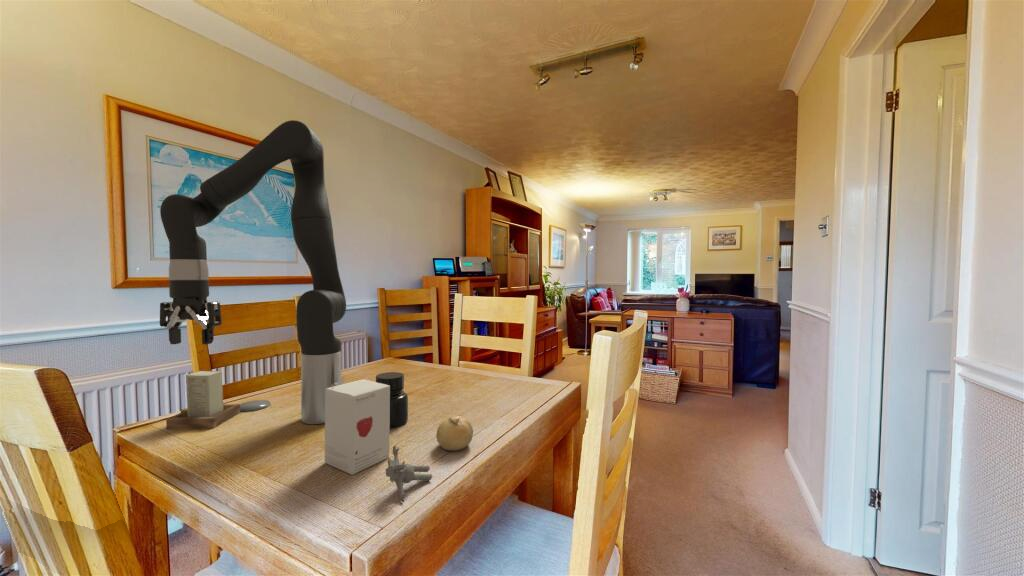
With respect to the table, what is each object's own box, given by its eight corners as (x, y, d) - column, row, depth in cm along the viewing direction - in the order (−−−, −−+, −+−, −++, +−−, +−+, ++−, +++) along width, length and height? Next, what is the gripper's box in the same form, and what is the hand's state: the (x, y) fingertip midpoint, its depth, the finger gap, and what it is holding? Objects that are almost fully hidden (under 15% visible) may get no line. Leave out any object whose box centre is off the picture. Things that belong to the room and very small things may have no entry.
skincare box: (224, 418, 99) (223, 371, 98) (209, 424, 94) (208, 375, 94) (201, 416, 99) (201, 370, 99) (185, 423, 95) (185, 374, 94)
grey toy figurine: (445, 493, 66) (400, 493, 60) (424, 510, 68) (378, 512, 62) (433, 439, 73) (391, 435, 67) (414, 456, 75) (372, 454, 69)
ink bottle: (373, 416, 101) (373, 371, 100) (408, 414, 103) (408, 369, 103) (369, 431, 91) (369, 381, 91) (407, 428, 94) (407, 379, 93)
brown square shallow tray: (240, 412, 102) (240, 401, 102) (213, 428, 92) (213, 415, 92) (197, 413, 101) (197, 402, 101) (166, 429, 91) (165, 416, 91)
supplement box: (351, 476, 71) (352, 396, 70) (323, 463, 76) (323, 388, 75) (391, 457, 79) (391, 384, 78) (362, 446, 83) (363, 378, 83)
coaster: (275, 401, 112) (275, 399, 112) (260, 411, 104) (260, 409, 104) (246, 402, 111) (246, 400, 111) (228, 412, 103) (228, 409, 103)
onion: (428, 447, 84) (428, 414, 83) (456, 436, 90) (456, 405, 89) (452, 458, 78) (452, 424, 78) (480, 446, 84) (480, 414, 84)
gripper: (228, 278, 98) (230, 341, 98) (177, 278, 99) (179, 341, 100) (202, 278, 90) (204, 347, 91) (147, 278, 92) (149, 346, 92)
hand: (191, 343), depth 95 cm, fingers open, 8 cm apart
